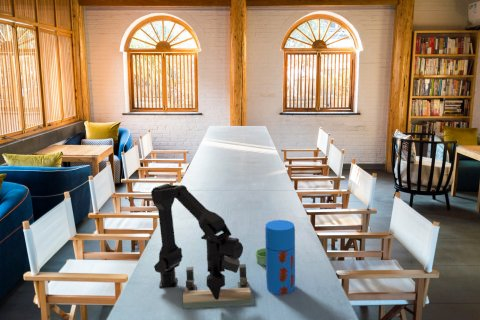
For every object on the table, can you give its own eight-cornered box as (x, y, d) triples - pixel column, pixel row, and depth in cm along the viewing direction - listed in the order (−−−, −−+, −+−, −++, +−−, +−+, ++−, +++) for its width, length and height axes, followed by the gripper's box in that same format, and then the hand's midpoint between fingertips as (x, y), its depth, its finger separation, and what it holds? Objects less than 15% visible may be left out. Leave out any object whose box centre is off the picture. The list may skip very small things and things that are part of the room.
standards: (185, 286, 174) (184, 267, 172) (248, 283, 175) (247, 263, 173) (184, 295, 167) (183, 275, 165) (249, 292, 168) (248, 272, 166)
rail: (184, 298, 164) (183, 291, 163) (250, 295, 165) (249, 287, 164) (183, 303, 161) (182, 295, 160) (250, 299, 162) (250, 291, 161)
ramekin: (272, 255, 198) (271, 246, 198) (280, 264, 190) (280, 254, 189) (252, 259, 196) (252, 249, 195) (260, 268, 187) (260, 258, 186)
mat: (184, 296, 166) (184, 294, 166) (252, 292, 167) (252, 291, 167) (182, 308, 158) (182, 307, 158) (254, 304, 159) (254, 303, 159)
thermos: (266, 280, 176) (264, 220, 171) (293, 280, 176) (293, 219, 170) (266, 295, 165) (265, 230, 160) (296, 294, 165) (295, 230, 160)
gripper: (239, 262, 150) (240, 305, 153) (236, 240, 168) (238, 279, 171) (205, 264, 149) (207, 307, 153) (206, 242, 168) (208, 280, 171)
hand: (216, 292), depth 162 cm, fingers open, 9 cm apart
